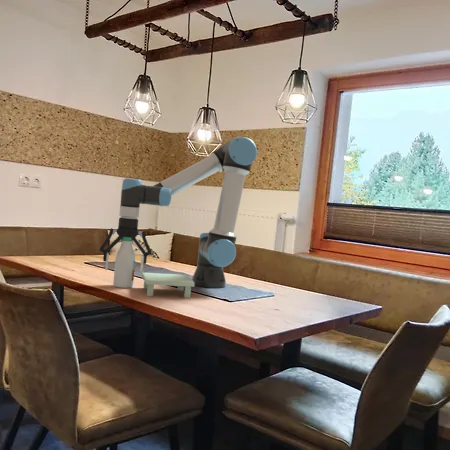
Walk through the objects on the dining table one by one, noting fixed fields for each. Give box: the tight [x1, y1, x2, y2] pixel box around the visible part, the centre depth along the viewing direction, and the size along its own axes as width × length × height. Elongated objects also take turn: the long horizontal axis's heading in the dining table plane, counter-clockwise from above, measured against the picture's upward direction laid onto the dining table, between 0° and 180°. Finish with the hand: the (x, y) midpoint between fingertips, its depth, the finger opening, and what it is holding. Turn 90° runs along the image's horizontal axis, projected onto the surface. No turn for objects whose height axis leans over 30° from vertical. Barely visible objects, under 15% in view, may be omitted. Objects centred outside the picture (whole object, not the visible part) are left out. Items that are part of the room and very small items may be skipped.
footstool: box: [141, 272, 196, 299], centre depth 184 cm, size 18×18×6 cm
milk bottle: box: [112, 237, 136, 289], centre depth 188 cm, size 8×8×20 cm
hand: (123, 270), depth 188 cm, fingers open, 13 cm apart
